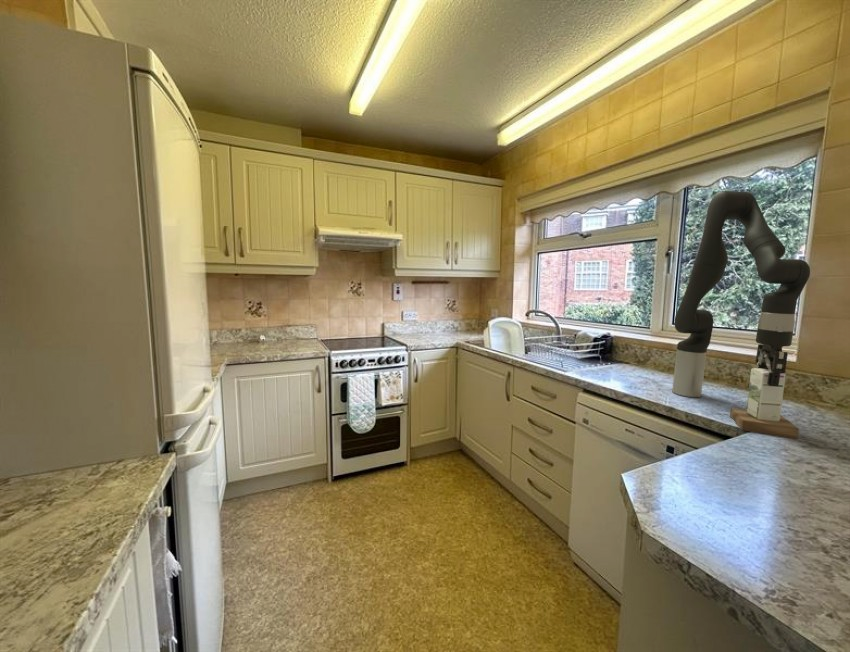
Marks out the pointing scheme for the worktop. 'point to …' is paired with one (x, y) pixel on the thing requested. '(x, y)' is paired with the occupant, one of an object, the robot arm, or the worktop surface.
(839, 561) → the worktop surface
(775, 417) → the syrup box
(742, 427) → the walnut plinth
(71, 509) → the worktop surface
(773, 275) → the robot arm
